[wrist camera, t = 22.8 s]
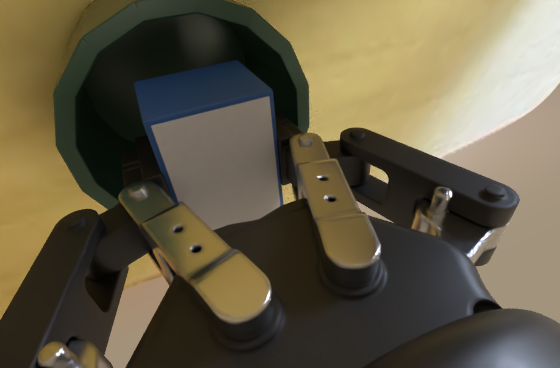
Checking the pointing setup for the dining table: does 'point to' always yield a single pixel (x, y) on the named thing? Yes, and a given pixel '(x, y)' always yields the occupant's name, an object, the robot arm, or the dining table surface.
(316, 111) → the dining table surface
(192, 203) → the cream cheese
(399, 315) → the robot arm
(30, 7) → the dining table surface
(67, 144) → the pot
